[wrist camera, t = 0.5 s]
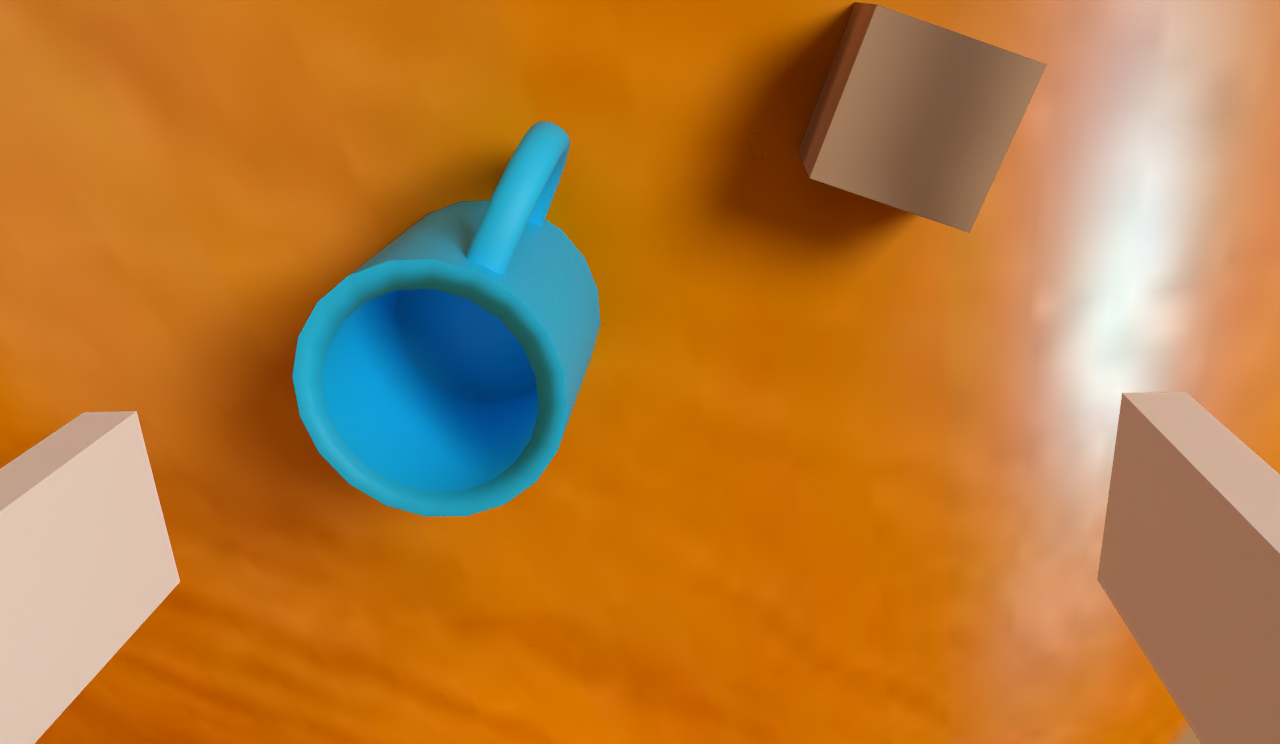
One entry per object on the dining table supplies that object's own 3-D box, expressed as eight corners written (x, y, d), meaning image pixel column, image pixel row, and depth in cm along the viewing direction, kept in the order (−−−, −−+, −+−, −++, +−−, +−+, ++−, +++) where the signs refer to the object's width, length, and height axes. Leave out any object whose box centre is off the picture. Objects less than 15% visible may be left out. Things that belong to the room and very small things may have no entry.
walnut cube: (797, 151, 34) (809, 178, 29) (854, 2, 32) (877, 4, 27) (935, 199, 34) (969, 232, 29) (1000, 53, 32) (1047, 64, 27)
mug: (550, 444, 38) (507, 557, 31) (353, 358, 38) (259, 451, 30) (682, 159, 34) (670, 209, 26) (461, 56, 33) (384, 77, 26)
